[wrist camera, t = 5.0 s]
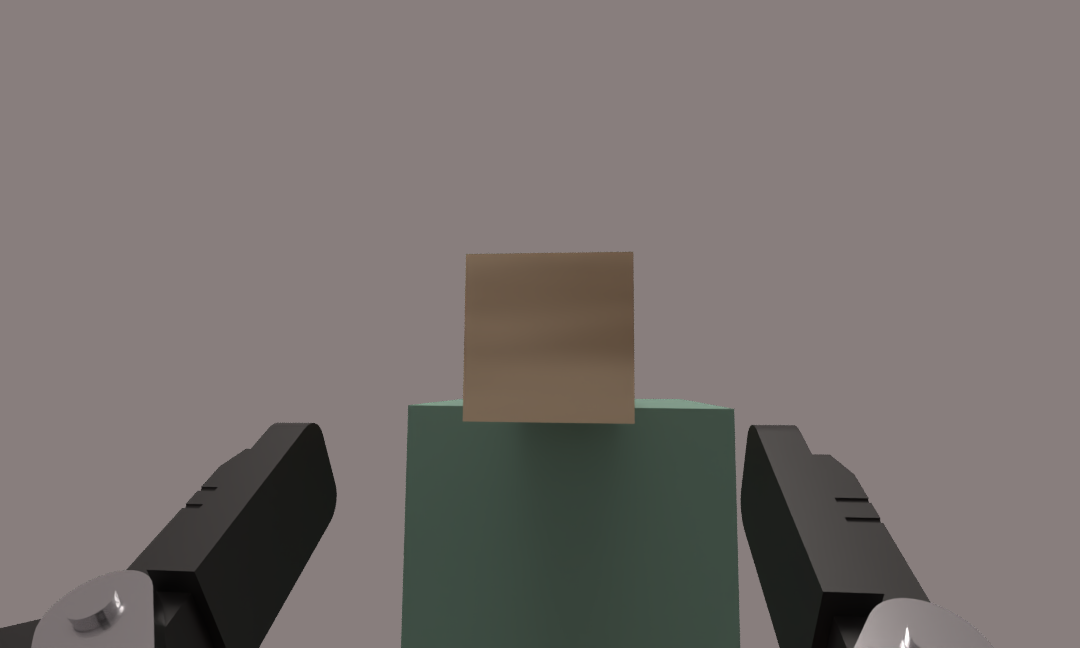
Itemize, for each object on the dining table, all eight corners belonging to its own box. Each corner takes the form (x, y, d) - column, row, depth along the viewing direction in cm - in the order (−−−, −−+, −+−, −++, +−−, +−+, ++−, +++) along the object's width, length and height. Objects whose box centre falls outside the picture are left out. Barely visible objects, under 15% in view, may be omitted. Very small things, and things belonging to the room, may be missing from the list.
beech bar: (543, 398, 31) (544, 332, 31) (611, 399, 31) (610, 332, 31) (462, 421, 12) (466, 254, 12) (634, 423, 12) (633, 252, 12)
